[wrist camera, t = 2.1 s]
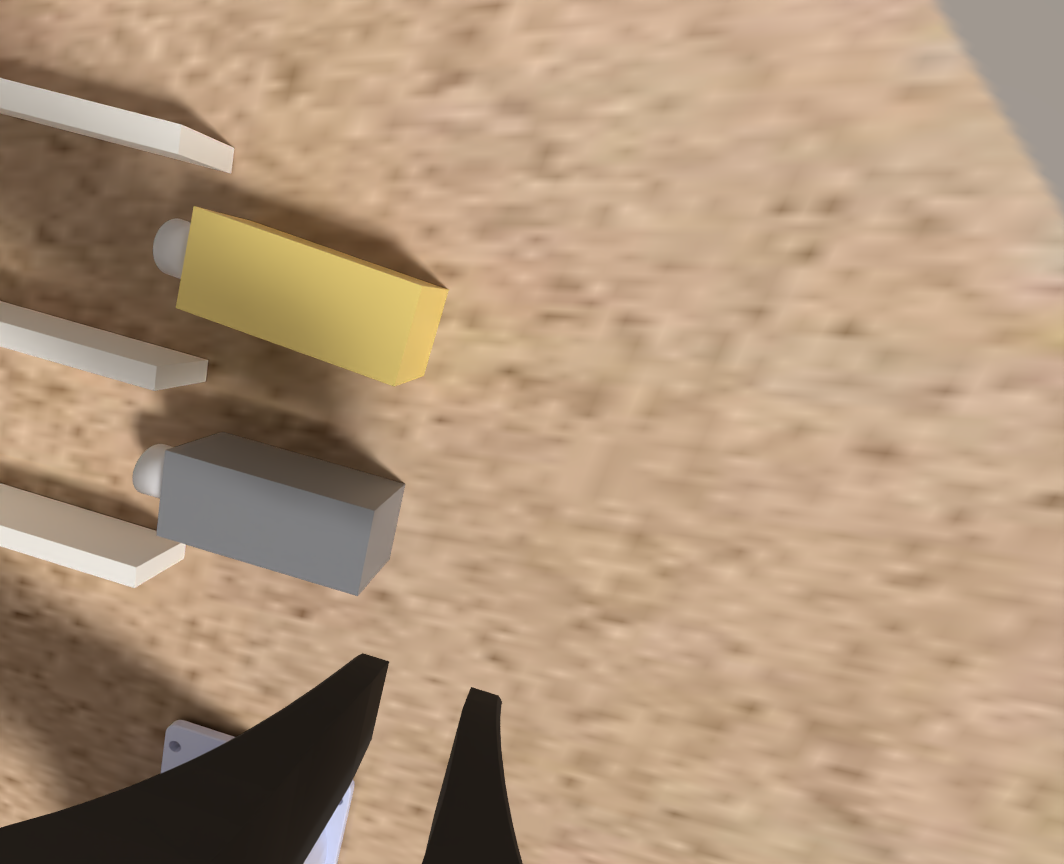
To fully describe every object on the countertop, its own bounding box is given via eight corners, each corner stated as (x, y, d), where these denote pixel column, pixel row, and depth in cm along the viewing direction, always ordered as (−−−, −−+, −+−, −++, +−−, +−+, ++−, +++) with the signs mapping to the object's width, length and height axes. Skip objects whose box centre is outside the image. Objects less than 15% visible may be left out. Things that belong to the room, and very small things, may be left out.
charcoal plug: (391, 556, 21) (357, 595, 18) (180, 494, 22) (114, 523, 19) (407, 482, 20) (374, 510, 18) (188, 420, 21) (121, 437, 18)
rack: (184, 558, 22) (104, 605, 18) (-72, 480, 23) (-196, 511, 19) (234, 148, 18) (148, 109, 15) (-70, 69, 19) (-220, 14, 16)
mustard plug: (425, 375, 20) (394, 386, 17) (199, 294, 20) (129, 291, 17) (450, 289, 19) (422, 285, 16) (215, 207, 19) (145, 189, 16)
